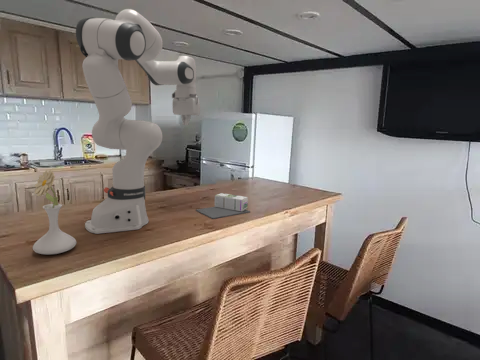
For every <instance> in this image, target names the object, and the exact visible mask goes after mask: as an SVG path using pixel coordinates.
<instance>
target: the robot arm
mask: <svg viewBox="0 0 480 360" xmlns="http://www.w3.org/2000/svg"><path fill="white" fill-rule="evenodd" d="M75 39H76V42H77V44H78V47H79V51H80V53H81V54H82V55H83V56H84V57H85V58H84V59H83V62H82V65H81V66H82V72H83V75H84V79H85V83H86V85H87V88H88V91H89V93H90V95H91V97H92V99H93V102H94V104H95V106H96V108H97V112H98V119H97V121H96V122H94V124H93V126H92V129H91V137H92V139H93V141H94V143H95V144H96V145H97V146H98V147H102V148H106V149H110V150H122V151H123V150H125V156H124V158H123V159H120V160H118V161H116V162H115V163H114V165H113V167H112V187H110V188H109V187H107V186H106V187H104V188H103V192H104V193H105V194H107V197H106V198H105V199H104V200H103V201H101V202H100V203H98V205H96V206H95V207H94V208H93V210H92V212H91V219H89V220H86V221H85V223H84V228H85V229H86V230H87V231H88V232H89V233H92V234H95V235H96V234H105V233H106V234H107V233H116V232H118V233H119V232H126V231H134V230H136V231H137V230H141V229H142V227H143V226H145V225H147V224H148V223H149V217H148V214H147V209H146V201H145V200H146V186H145V166H146V163H147V161H148V158H149V157H150V156H151V154H153V152H155V150H157V149H158V148H159V147H160V146H161V144H162V141H163V131H162V129H161V126H159V124H157V123H156V122H152V121H149V120H148V121H147V120H144V119H143V120H138V119H127V118H125V117H126V116H127V115H128V114H129V113H130V112H131V110H132V107H133V101H132V98H131V96H130V93H129V90H128V87H127V84H126V82H125V79H124V77H123V75H122V73H121V71H120V69H119V60H124V61H135V62H136V63H137V64H138V65H139V67H140V68H141V69H142V71H144V73H145V74H146V77H147V78H148V80H149V81H150V83H152V84H153V85H154V86H164V85H165V86H167V85H168V86H176V87H175V90H174V92H173V93H172V94H171V99H172V103H171V105H172V113H173V115H175V116H176V115H177V116H179V115H180V117H181V120H182V126H190V120H191V116H196V117H197V116H200V114H201V103H200V99H199V97H198V95H197V85H196V81H197V67H196V66H197V65H196V60H195V58H193V57H192V56H189V55H179V56H178V58H177V59H176V60H166V61H165V60H164V61H162V60H155V59H157V58H158V56H159V55H160V54H161V53H162V50H163V44H164V42H163V38H162V36H161V33H159V31H158V29H156V28H155V27H154V26H153V25H152V23H151V22H150V21H149V20H148V19H147V18H145V16H143V15H142V14H140V12H138V11H136V10H134V9H133V8H125V9H122V10H121V11H119V12H118V13H117V15H116V17H115V19H112V18H104V17H103V18H102V17H93V16H91V17H84V18H82V19H80V20H79V21H78V22H77V24H76V27H75Z"/></svg>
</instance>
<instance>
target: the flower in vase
mask: <svg viewBox="0 0 480 360" xmlns="http://www.w3.org/2000/svg"><path fill="white" fill-rule="evenodd" d="M55 178H56V175H55V172H53V170H52V169H49V170H47V169H46V170H45V171H44V172H43V173H42V174H40V175H39V176H38V179H37V183H36V184H35V185H34V188H35V190H34V195H36V196H37V198H38V197H42V196H45V199H47V200H48V201H50V202H52V203H49V204H45V205H43V206H42V209H43V210H44V211H45V212H46V215H47V216H48V223H49V225H48V226H49V228H48V231H47V232H46V233H45V234H44V235H42V236H41V237H40V238H39V239H37V240H36V241H35V243H34V244H33V245H32V250H33V252H35V253H36V254H39V255H40V254H41V255H57V254H61V253H62V254H63V253H65V252H67V251H70V250H72V249H74V247H75V246H76V245H77V240H76V238H75V237H73V236H72V235H70V234H69V233H66V232H64V231H63V230H61V229H60V226H59V214H60V210H61V209H62V207H63V204H61V203H59V202H58V200H59V196H56V193H55V190H54V189H53V187H52V186H53V185H54V181H55ZM50 190H51V192H52V194H53V196H54V197H53V196H52V195H51V194H50V193H49V191H50Z"/></svg>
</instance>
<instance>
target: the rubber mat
mask: <svg viewBox="0 0 480 360" xmlns="http://www.w3.org/2000/svg"><path fill="white" fill-rule="evenodd" d="M195 211H196V212H197V213H200V214H201V215H204V216H205V217H206V218H207V217H208V218H210V219H211V220H216V219H221V218H222V219H223V218H226V217H232V216H233V217H234V216H237V215H242V214H243V215H244V214H250V213H251V210H248V209H245V210H244V211H236V210H230V209H224V208H219V207H215V206H210V207H204V208H198V209H197V208H196V209H195Z"/></svg>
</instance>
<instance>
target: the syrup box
mask: <svg viewBox="0 0 480 360" xmlns="http://www.w3.org/2000/svg"><path fill="white" fill-rule="evenodd" d="M248 206H249V196H242V195H235V194H231V193H223V192H220V193H218V194H214V207H219V208H224V209H230V210H236V211H244V210H245V209H246V210H248V208H249V207H248Z"/></svg>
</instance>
